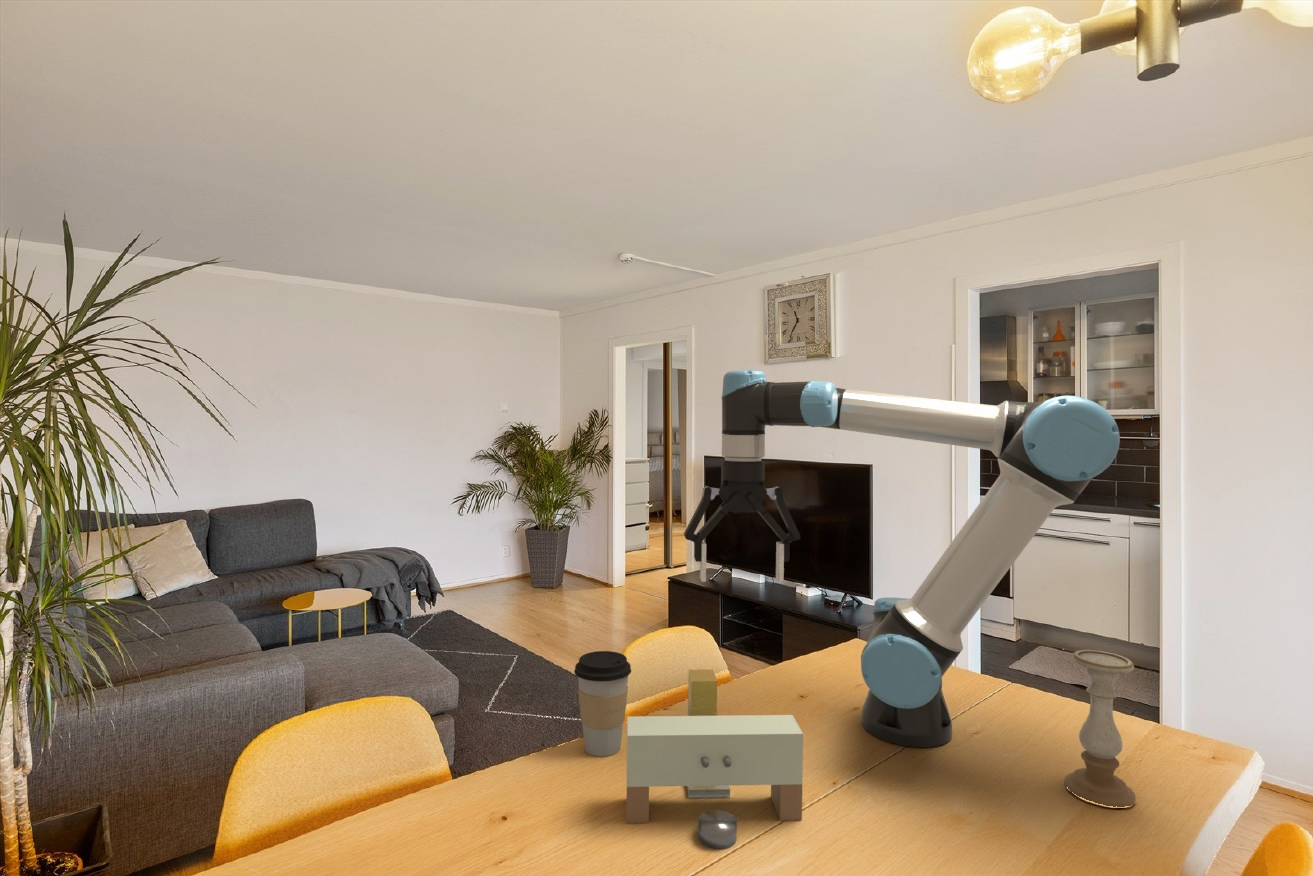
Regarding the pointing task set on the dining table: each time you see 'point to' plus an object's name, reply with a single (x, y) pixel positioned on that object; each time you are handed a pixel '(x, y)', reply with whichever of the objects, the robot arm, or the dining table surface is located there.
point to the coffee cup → (602, 700)
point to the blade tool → (704, 704)
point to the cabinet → (715, 757)
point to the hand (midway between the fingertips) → (741, 580)
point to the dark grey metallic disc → (717, 829)
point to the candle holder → (1101, 733)
